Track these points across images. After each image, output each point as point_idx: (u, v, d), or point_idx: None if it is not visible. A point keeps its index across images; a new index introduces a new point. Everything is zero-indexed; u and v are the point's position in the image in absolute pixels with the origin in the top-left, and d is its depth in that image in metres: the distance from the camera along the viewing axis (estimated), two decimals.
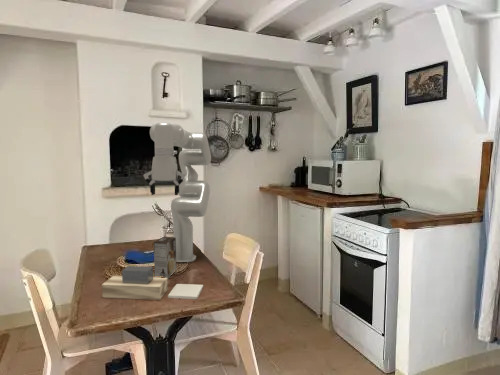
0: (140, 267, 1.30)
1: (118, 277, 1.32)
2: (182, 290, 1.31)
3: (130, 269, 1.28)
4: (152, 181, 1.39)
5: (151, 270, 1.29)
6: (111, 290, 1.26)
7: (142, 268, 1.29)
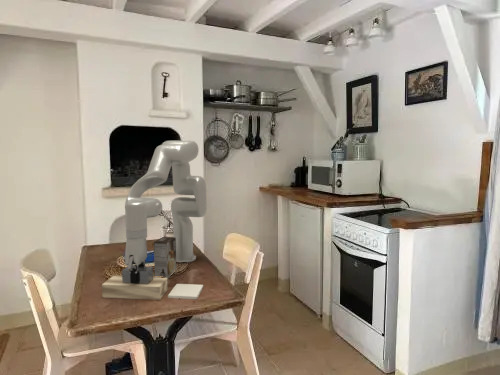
0: (140, 267, 1.30)
1: (118, 277, 1.32)
2: (182, 290, 1.31)
3: None
4: (137, 268, 1.25)
5: (151, 270, 1.29)
6: (111, 290, 1.26)
7: (142, 268, 1.29)
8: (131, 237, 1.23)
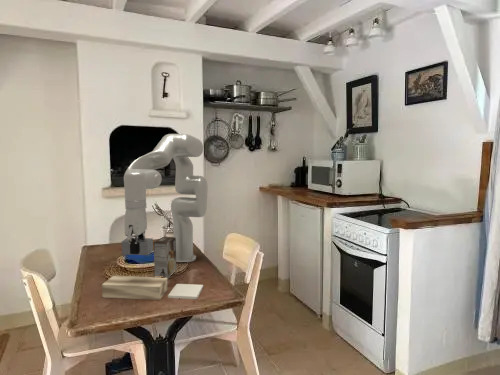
0: (140, 238, 1.29)
1: (118, 277, 1.32)
2: (182, 290, 1.31)
3: None
4: (137, 239, 1.24)
5: (151, 241, 1.28)
6: (111, 290, 1.26)
7: (142, 239, 1.28)
8: (130, 207, 1.22)
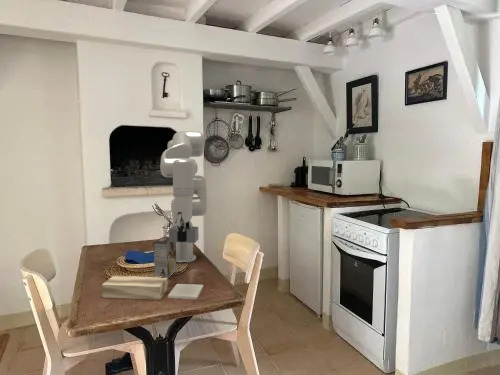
0: (186, 227, 1.29)
1: (118, 277, 1.32)
2: (182, 290, 1.31)
3: (176, 228, 1.27)
4: (184, 226, 1.25)
5: (197, 230, 1.29)
6: (111, 290, 1.26)
7: (188, 227, 1.28)
8: (179, 194, 1.23)
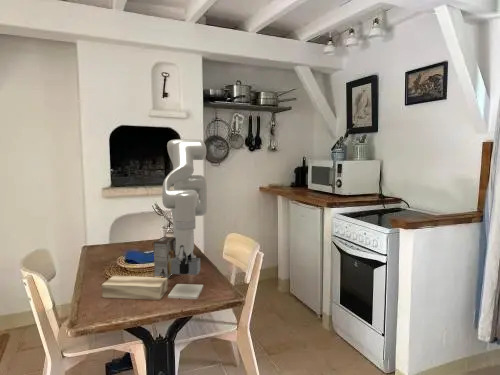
0: (188, 258, 1.31)
1: (118, 277, 1.32)
2: (182, 290, 1.31)
3: None
4: (187, 259, 1.26)
5: (199, 261, 1.30)
6: (111, 290, 1.26)
7: (190, 259, 1.30)
8: (181, 228, 1.24)
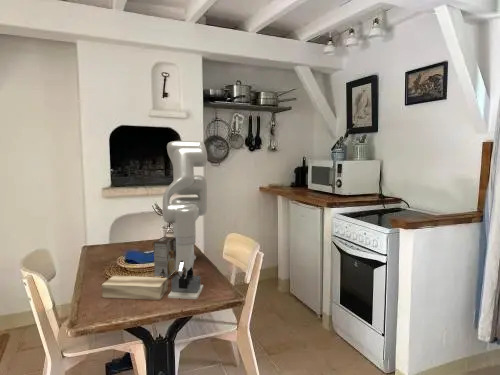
0: (188, 276, 1.32)
1: (118, 277, 1.32)
2: None
3: None
4: (186, 273, 1.26)
5: (199, 279, 1.31)
6: (111, 290, 1.26)
7: (190, 277, 1.31)
8: (182, 243, 1.25)
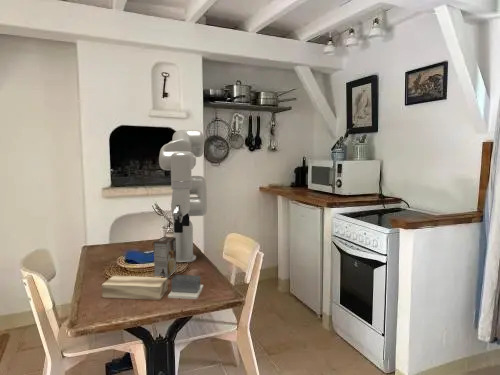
0: (188, 276, 1.32)
1: (118, 277, 1.32)
2: None
3: (179, 278, 1.29)
4: (182, 217, 1.25)
5: (199, 279, 1.31)
6: (111, 290, 1.26)
7: (190, 277, 1.31)
8: (177, 187, 1.24)
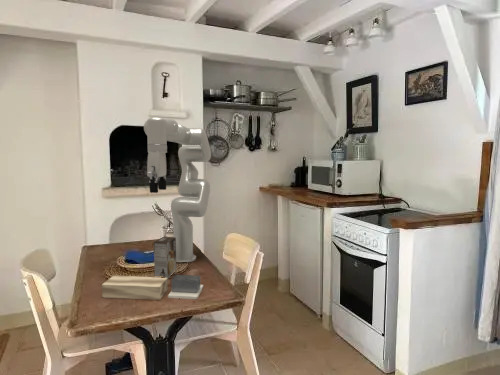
0: (188, 276, 1.32)
1: (118, 277, 1.32)
2: None
3: (179, 278, 1.29)
4: (157, 178, 1.32)
5: (199, 279, 1.31)
6: (111, 290, 1.26)
7: (190, 277, 1.31)
8: (153, 150, 1.32)
